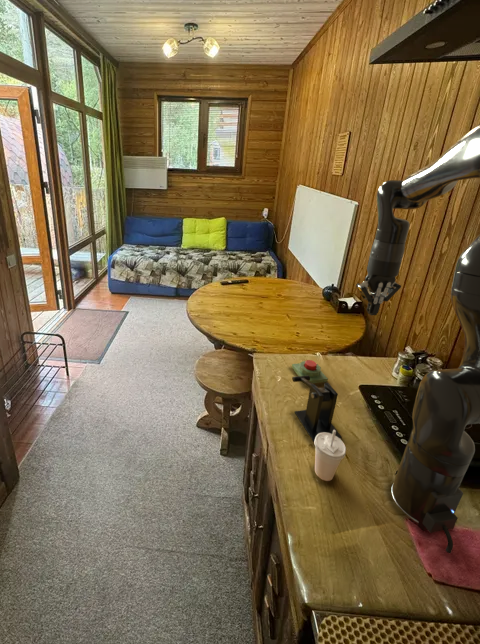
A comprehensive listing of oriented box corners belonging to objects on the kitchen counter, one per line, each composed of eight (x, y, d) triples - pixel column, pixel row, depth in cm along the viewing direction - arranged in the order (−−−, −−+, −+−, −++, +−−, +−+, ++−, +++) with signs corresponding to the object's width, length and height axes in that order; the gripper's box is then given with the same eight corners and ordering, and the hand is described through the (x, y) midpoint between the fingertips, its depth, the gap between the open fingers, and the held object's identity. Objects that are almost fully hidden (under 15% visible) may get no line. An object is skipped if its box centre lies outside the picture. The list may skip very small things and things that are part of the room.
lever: (292, 382, 91) (292, 374, 91) (307, 380, 92) (307, 373, 92) (317, 402, 78) (317, 393, 78) (335, 400, 79) (335, 391, 79)
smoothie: (311, 487, 68) (322, 439, 63) (305, 460, 74) (314, 415, 69) (342, 491, 67) (354, 443, 62) (333, 464, 73) (344, 418, 68)
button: (318, 370, 101) (318, 366, 101) (308, 371, 100) (308, 367, 100) (312, 363, 104) (313, 359, 104) (302, 364, 104) (303, 360, 103)
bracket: (293, 414, 88) (300, 377, 83) (319, 411, 89) (327, 375, 85) (312, 444, 78) (320, 404, 74) (340, 440, 80) (350, 401, 75)
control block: (327, 384, 100) (329, 374, 99) (304, 386, 99) (306, 376, 97) (312, 367, 109) (314, 357, 107) (291, 369, 107) (292, 359, 106)
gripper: (374, 261, 79) (360, 321, 84) (418, 260, 81) (401, 318, 87) (354, 253, 86) (343, 309, 91) (396, 252, 88) (382, 307, 94)
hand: (371, 314), depth 89 cm, fingers closed
